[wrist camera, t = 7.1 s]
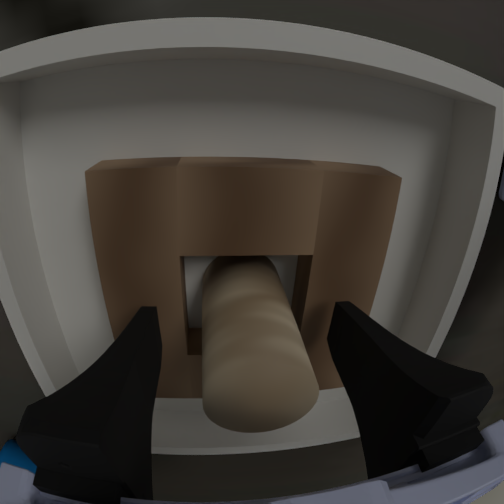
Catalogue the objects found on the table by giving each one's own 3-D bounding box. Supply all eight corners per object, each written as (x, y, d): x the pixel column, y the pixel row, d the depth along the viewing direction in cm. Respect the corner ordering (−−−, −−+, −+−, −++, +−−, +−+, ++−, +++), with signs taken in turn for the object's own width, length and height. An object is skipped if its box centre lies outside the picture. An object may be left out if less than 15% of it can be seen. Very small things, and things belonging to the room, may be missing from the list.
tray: (457, 85, 13) (510, 92, 9) (375, 389, 23) (393, 428, 19) (15, 66, 10) (-36, 65, 6) (87, 401, 20) (76, 444, 16)
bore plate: (379, 166, 14) (401, 177, 12) (334, 363, 19) (344, 386, 17) (101, 160, 12) (84, 171, 10) (136, 370, 17) (131, 396, 16)
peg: (282, 249, 15) (331, 359, 9) (274, 313, 16) (307, 427, 10) (202, 248, 14) (200, 365, 8) (202, 313, 16) (204, 434, 10)
